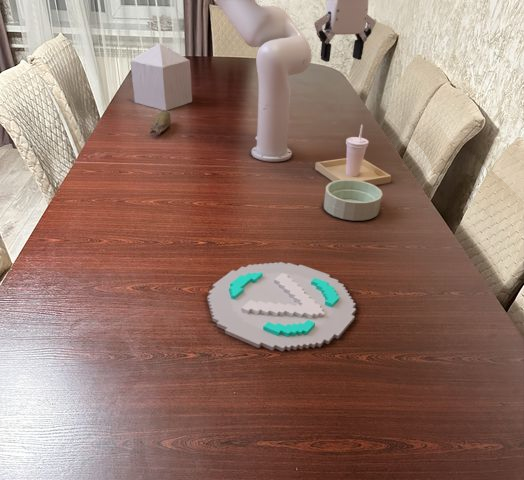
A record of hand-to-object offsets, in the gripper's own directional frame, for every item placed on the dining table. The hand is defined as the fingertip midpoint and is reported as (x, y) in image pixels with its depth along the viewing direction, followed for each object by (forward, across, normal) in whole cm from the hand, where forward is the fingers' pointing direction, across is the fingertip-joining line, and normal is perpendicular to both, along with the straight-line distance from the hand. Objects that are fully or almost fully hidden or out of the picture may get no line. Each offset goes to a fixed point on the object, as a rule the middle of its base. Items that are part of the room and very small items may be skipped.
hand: (341, 59), depth 134 cm
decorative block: (+31, +22, -85) cm, 93 cm away
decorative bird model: (+31, +33, -53) cm, 70 cm away
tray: (+30, -7, +3) cm, 31 cm away
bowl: (+30, +6, +22) cm, 38 cm away
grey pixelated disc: (+30, +43, +53) cm, 75 cm away
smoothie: (+30, -7, +3) cm, 31 cm away
